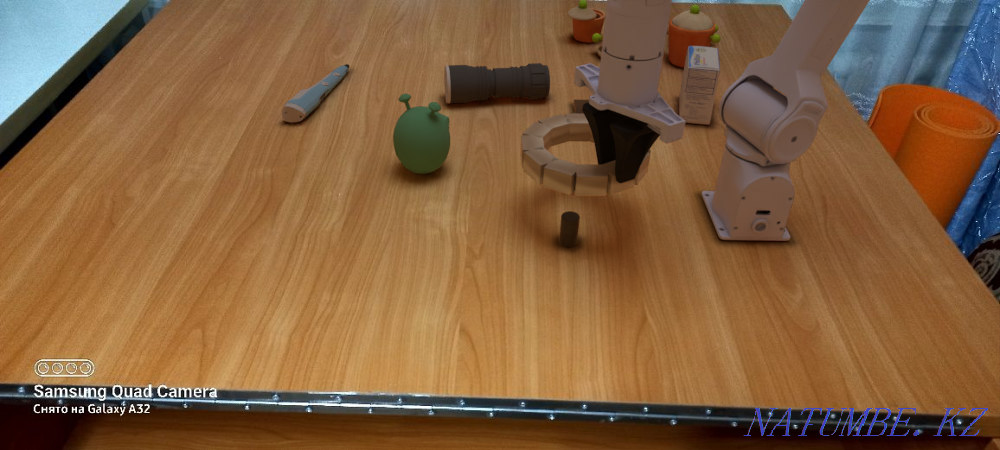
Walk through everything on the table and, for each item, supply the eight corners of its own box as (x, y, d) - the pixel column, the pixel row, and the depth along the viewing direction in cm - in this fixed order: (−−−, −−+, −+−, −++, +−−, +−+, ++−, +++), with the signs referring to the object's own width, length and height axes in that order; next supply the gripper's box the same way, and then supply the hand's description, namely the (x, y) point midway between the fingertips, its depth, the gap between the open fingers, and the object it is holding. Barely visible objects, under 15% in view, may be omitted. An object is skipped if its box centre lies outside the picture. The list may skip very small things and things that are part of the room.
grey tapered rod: (302, 126, 102) (299, 107, 100) (281, 123, 103) (278, 104, 101) (357, 70, 117) (355, 53, 116) (338, 68, 118) (336, 51, 116)
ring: (657, 196, 76) (660, 176, 75) (523, 195, 76) (524, 175, 75) (635, 132, 88) (637, 113, 86) (518, 131, 87) (519, 112, 86)
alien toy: (463, 161, 95) (462, 90, 90) (433, 190, 90) (430, 116, 84) (416, 148, 98) (413, 78, 92) (384, 175, 92) (378, 103, 86)
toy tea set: (712, 37, 132) (723, -17, 127) (724, 73, 120) (736, 15, 114) (566, 28, 134) (570, -26, 129) (562, 63, 122) (567, 5, 116)
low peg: (577, 247, 81) (580, 221, 79) (559, 247, 81) (562, 221, 79) (576, 236, 83) (578, 211, 81) (558, 236, 83) (560, 210, 81)
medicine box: (709, 126, 105) (721, 69, 100) (677, 122, 106) (687, 65, 101) (708, 102, 111) (719, 47, 106) (678, 98, 112) (687, 44, 107)
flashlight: (544, 88, 114) (546, 55, 110) (551, 104, 109) (554, 70, 106) (444, 93, 111) (443, 59, 108) (448, 109, 107) (447, 75, 104)
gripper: (553, 30, 72) (545, 151, 80) (650, 87, 62) (630, 218, 70) (610, 18, 75) (597, 136, 83) (712, 70, 65) (686, 198, 73)
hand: (616, 172), depth 77 cm, fingers closed on ring, 2 cm apart
